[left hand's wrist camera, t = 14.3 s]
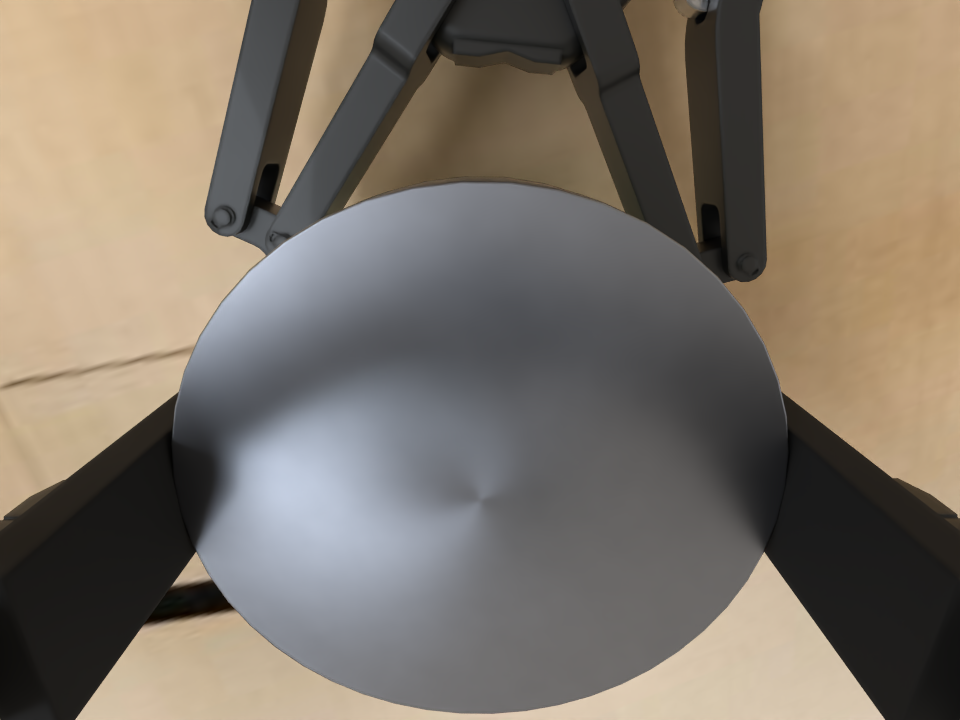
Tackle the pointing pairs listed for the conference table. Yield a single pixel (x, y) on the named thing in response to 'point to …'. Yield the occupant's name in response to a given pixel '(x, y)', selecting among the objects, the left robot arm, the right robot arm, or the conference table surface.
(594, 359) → the lid
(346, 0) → the conference table surface
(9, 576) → the left robot arm
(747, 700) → the conference table surface
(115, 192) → the conference table surface
